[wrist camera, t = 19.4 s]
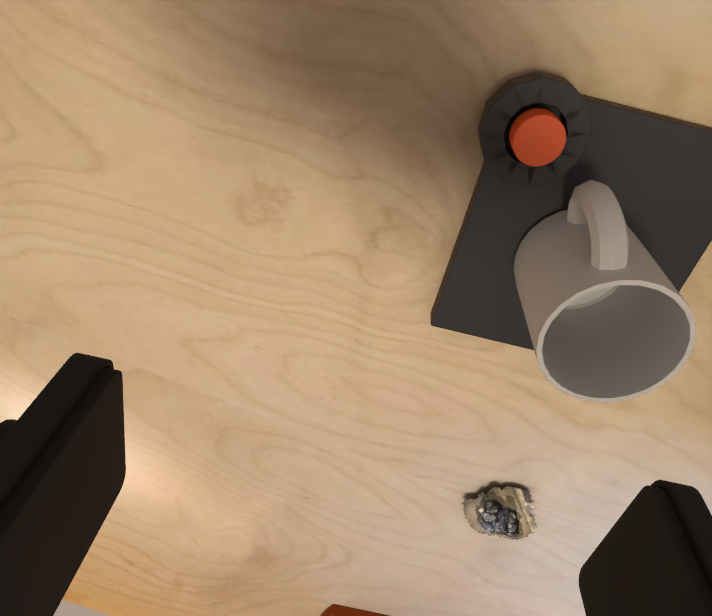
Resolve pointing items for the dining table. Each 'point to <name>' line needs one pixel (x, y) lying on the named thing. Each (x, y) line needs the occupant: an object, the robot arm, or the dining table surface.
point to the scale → (554, 190)
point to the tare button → (537, 137)
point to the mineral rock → (501, 513)
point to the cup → (600, 303)
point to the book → (347, 612)
